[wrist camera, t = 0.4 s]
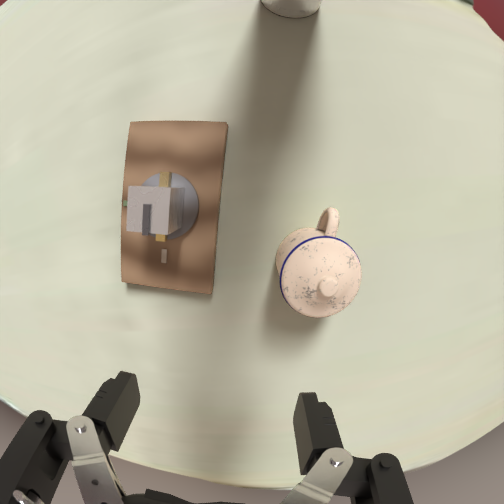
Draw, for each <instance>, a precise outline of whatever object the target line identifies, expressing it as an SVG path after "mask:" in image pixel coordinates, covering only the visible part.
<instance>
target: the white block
mask: <svg viewBox="0 0 504 504" xmlns="http://www.w3.org/2000/svg"><path fill="white" fill-rule="evenodd" d="M171 176H172V172H160V178H159V186H129V187H128V202H127V226H126V231H131V232H142V235H146V236H148V235H149V233H153V234H156V241H162V242H165V241H167V235H168V234H170V233H172V232H174V231H176V230H177V229H179V228H181V227H182V215H183V201H184V190H185V188H179V187H171Z"/></svg>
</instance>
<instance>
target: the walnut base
mask: <svg viewBox="0 0 504 504" xmlns="http://www.w3.org/2000/svg"><path fill="white" fill-rule="evenodd" d="M227 131H228V124H227V122H208V121H139V122H130V128H129V135H128V143H127V151H126V159H125V169H124V181H123V195H122V215H121V277H122V282H126V283H132V284H139V285H146V286H153V287H160V288H167V289H174V290H182V291H190V292H198V293H206V294H211V293H212V290H213V282H214V268H215V254H216V241H217V229H218V218H219V206H220V196H221V186H222V176H223V166H224V157H225V148H226V140H227ZM160 172H172V176H171V187H179V188H185V190H184V201H183V215H182V227H181V228H179V229H177V230H176V231H174V232H172V233H170V234H168V235H167V241H165V242H162V241H156V234H153V233H149V235H148V236H146V235H142V232H131V231H126V226H127V202H128V187H129V186H159V178H160Z"/></svg>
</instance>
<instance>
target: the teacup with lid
mask: <svg viewBox="0 0 504 504" xmlns="http://www.w3.org/2000/svg"><path fill="white" fill-rule="evenodd" d="M338 225H339V212H338V211H337V210H336V209H335V208H331V207H329V208H327V209H325V210H324V211H323V213H322V215H321V217H320V219H319V222H318V225H317V228H302V229H298V230H296V231H294V232H292V233H290V234H289V235H288V236H287V237H286V238H285V239H284V240H283V241H282V243H281V244H280V246H279V248H278V251H277V255H276V266H277V270H278V274H279V277H280V288H281V292H282V294H283V297H284V299H285V300H286V302H287V303H288V304H289V305H290V306H291V307H292V308H293V309H294V310H295V311H297V312H299V313H301V314H303V315H305V316H309V317H316V318H320V317H327V316H331V315H334V314H336V313H338V312H340V311H341V310H343V309H344V308H345V307H347V306H348V305H349V304H350V303H351V302H352V300H353V299H354V297H355V296H356V294H357V292H358V290H359V287H360V284H361V277H362V272H361V265H360V261H359V258H358V256H357V254H356V253H355V251H354V250H353V249H352V248H351V247H350V246H349V245H348V244H347V243H346V242H344V241H342V240H340V239H338V238H335V237H336V233H337V230H338Z"/></svg>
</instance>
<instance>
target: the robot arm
mask: <svg viewBox="0 0 504 504" xmlns="http://www.w3.org/2000/svg"><path fill="white" fill-rule="evenodd" d="M261 1H262V3H263V5H264V6H265V7H266V8H267V9H269V10H270V11H271V12H273V13H275V14H278V15H281V16H285V17H291V18H302V17H307V16H309V15H312V14H313V13H315V12H316V11H317V10H318V8H319V6H320V3H321V1H322V0H261ZM139 404H140V393H139V388H138V383H137V378H136V375H135V374H132V373H128V372H124V371H120V372H119V374H118V375H117V377H116V378H115V379H112V378H110V379H109V380H107V381H106V382H104V383H103V384H102V386H101V387H100V389H99V391H98V392H97V393H96V395H95V396H94V398H93V399H92V401H91V402H90V404H89V405H88V407H87V408H86V410H85V411H84V413H83V414H82V416H75V417H72V418H71V419H69V421H60V420H53V419H52V417H51V416H50V414H49V413H48V412H46V411H42V410H37V411H34V412H32V413H31V414H30V415H29V416H28V418H27V419H26V421H25V422H24V424H23V425H22V427H21V428H20V429H19V431H18V432H17V434H16V435H15V437H14V438H13V440H12V441H11V443H10V445H9V446H8V448H7V449H6V451H5V452H4V454H3V456H2V457H1V459H0V504H50V503H51V501H52V498H53V496H54V494H55V491H56V489H57V487H58V484H59V482H60V480H61V477H62V475H63V473H64V471H65V469H66V466H67V464H68V462H69V460H72V466H73V470H74V473H75V476H76V480H77V483H78V486H79V489H80V492H81V495H82V498H83V500H84V503H85V504H194V503H191V502H188V501H185V500H183V499H180V498H178V497H175V496H173V495H171V494H167V493H162V492H158V491H153V490H150V489H146V492H145V494H132V495H126V493H125V491H124V490H123V487H122V485H121V483H120V481H119V479H118V477H117V475H116V472H115V470H114V467H113V465H112V463H111V460H110V457H109V455H108V454H109V452H110V450H114V451H117V452H118V451H119V449H120V446H121V444H122V442H123V440H124V437H125V435H126V433H127V431H128V429H129V426H130V424H131V422H132V420H133V418H134V416H135V413H136V411H137V409H138V407H139ZM293 425H294V431H295V438H296V445H297V452H298V459H299V466H300V473H301V475H306V476H305V478H304V479H303V480H302V481H301V482H300V483H298V484H297V485H296V486H295V487H294V488H293V490H292V491H291V492H290V493H289V494H288V495H287V496H286V497H285V499H284V500H283V501H282V502H281V503H280V504H328V502H329V501H330V499H331V497H332V496H333V495H339V496H347V497H350V498H351V504H414V503H413V500H412V497H411V494H410V491H409V488H408V485H407V482H406V479H405V476H404V474H403V471H402V468H401V465H400V462H399V460H398V459H397V458H396V457H395V456H394V455H392V454H389V453H381V454H378V455H376V456H375V457H374V458H373V459H365V458H357V457H354V456H352V455H351V454H350V453H349V452H348V451H347V450H345V449H344V447H343V445H342V441H341V438H340V435H339V431H338V428H337V425H336V422H335V418H334V415H333V412H332V409H331V408H330V407H329V406H328V405H327V403H326V402H318V399H317V395H316V393H315V392H309V393H299V396H298V400H297V404H296V408H295V411H294V416H293ZM199 504H243V503H228V502H214V503H199Z"/></svg>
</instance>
